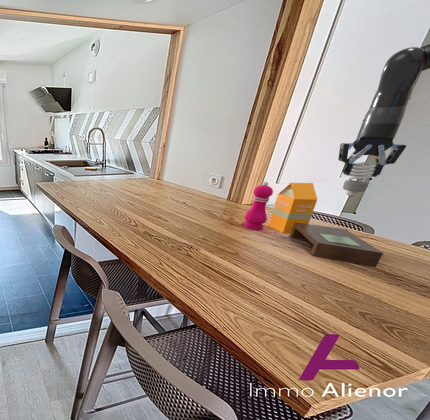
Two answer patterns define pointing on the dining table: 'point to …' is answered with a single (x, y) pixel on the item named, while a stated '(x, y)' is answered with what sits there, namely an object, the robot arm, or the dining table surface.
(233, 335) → the dining table surface
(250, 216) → the pepper mill
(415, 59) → the robot arm
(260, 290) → the dining table surface
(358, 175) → the light bulb
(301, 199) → the orange juice
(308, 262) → the dining table surface
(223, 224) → the dining table surface
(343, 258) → the shelf
